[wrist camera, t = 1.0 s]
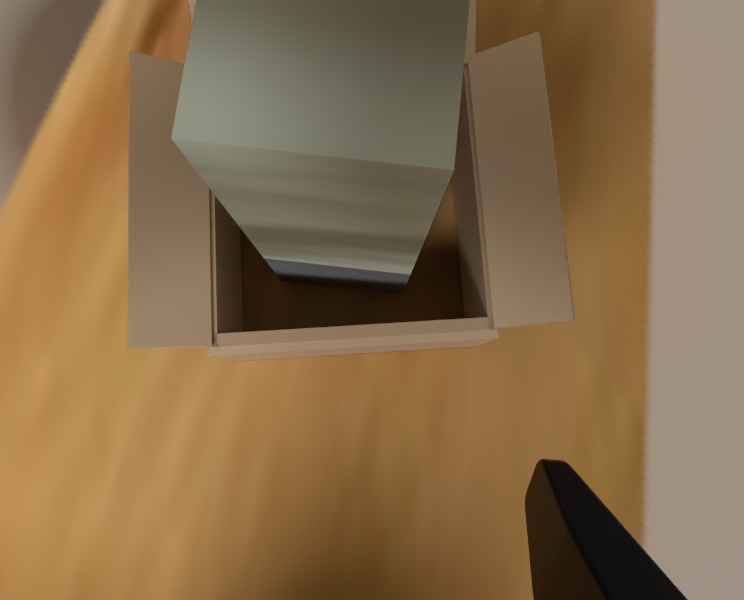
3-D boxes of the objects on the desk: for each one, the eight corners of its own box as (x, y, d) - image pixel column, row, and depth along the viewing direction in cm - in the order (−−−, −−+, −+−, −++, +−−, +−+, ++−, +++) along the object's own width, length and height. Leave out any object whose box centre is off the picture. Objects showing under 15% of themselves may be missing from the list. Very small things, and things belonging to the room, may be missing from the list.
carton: (527, 342, 22) (579, 328, 17) (182, 364, 22) (123, 357, 16) (497, 67, 24) (535, -24, 19) (179, 83, 24) (126, -5, 18)
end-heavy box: (402, 294, 22) (454, 170, 10) (281, 281, 22) (170, 138, 10) (414, 179, 23) (477, -79, 10) (297, 165, 23) (215, -108, 10)
